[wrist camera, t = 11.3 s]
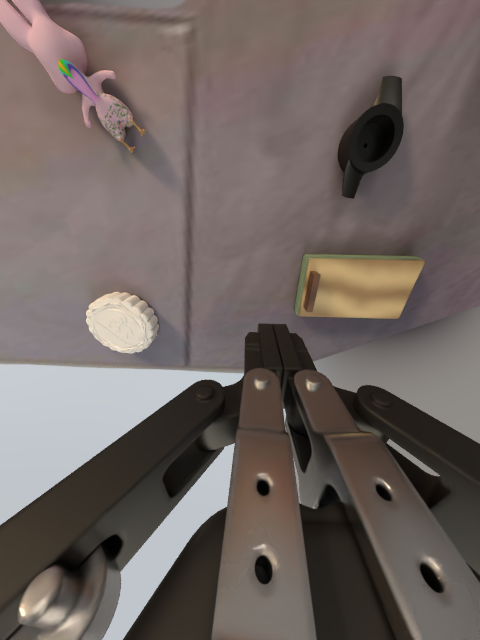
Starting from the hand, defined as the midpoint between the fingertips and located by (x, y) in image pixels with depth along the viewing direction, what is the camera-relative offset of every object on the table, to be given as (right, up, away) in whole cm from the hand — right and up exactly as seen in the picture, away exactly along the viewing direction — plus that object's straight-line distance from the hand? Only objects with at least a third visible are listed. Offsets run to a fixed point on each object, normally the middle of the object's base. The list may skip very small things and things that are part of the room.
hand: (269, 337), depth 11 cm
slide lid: (+17, +6, +20) cm, 27 cm away
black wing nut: (+14, +23, +13) cm, 30 cm away
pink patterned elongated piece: (-19, +29, +11) cm, 36 cm away
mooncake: (-23, +1, +27) cm, 35 cm away
